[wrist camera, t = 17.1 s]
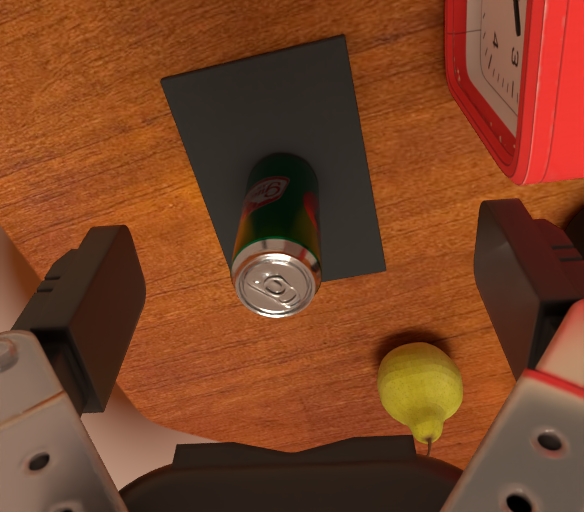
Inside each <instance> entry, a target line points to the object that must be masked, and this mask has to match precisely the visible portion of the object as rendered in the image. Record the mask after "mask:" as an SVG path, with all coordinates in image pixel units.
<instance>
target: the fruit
mask: <svg viewBox="0 0 584 512" xmlns="http://www.w3.org/2000/svg"><path fill="white" fill-rule="evenodd" d="M377 385H378V391H379V396H380V400H381V403H382V405H383V406H384V408H385V409H386V410H387V412H388V413H389V414H390V415H391V416H392V417H393V418H394V419H396V420H397V421H399V422H401V423H403V424H405V425H407V426H408V427H409V428H410V430H411V431H412V433H413V436H414V437H415V438H416V439H417V440H418V441H419V442H421V443H426V444H428V454H427V455H426V456H429V455H430V450H431V443H432V442H434V441H436V440H437V439H438V438H439V437H440V435H441V433H442V430H443V422H444V421H445V420H446V419H447V418H449V417H450V416H452V415H453V414H454V413H455V412H456V411H457V409H458V408H459V406H460V404H461V402H462V397H463V384H462V378H461V374H460V371H459V369H458V367H457V366H456V364H455V363H454V362H453V361H452V360H451V359H450V358H449V357H448V356H447V355H446V354H445V353H444V352H443V351H442V350H440V349H439V348H437V347H436V346H433V345H430V344H428V343H424V342H416V343H410V344H405V345H402V346H400V347H397V348H395V349H393V350H392V351H390V352H389V353H388V354H387V355H386V356H385V357H384V358H383V360H382V362H381V364H380V367H379V371H378V375H377Z"/></svg>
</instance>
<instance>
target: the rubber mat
mask: <svg viewBox="0 0 584 512" xmlns="http://www.w3.org/2000/svg"><path fill="white" fill-rule="evenodd" d="M160 82H161V85H162V88H163V90H164V93H165V96H166V98H167V101H168V104H169V107H170V109H171V112H172V115H173V117H174V120H175V123H176V126H177V128H178V131H179V134H180V136H181V139H182V142H183V145H184V147H185V150H186V153H187V155H188V158H189V161H190V164H191V166H192V169H193V172H194V174H195V177H196V180H197V182H198V185H199V188H200V191H201V193H202V196H203V199H204V201H205V204H206V207H207V210H208V212H209V215H210V218H211V220H212V223H213V226H214V229H215V231H216V234H217V237H218V239H219V242H220V245H221V248H222V250H223V253H224V256H225V258H226V261H227V264H228V267H229V269H231V263H232V258H233V253H234V248H235V242H236V237H237V232H238V227H239V222H240V217H241V212H242V206H243V201H244V196H245V191H246V186H247V181H248V177H249V175H250V173H251V171H252V170H253V168H254V167H255V166H256V165H257V164H258V163H259V162H261V161H263V160H264V159H266V158H269V157H272V156H277V155H287V156H292V157H295V158H298V159H300V160H302V161H304V162H305V163H306V164H308V165H309V166H310V167H311V168H312V170H313V171H314V173H315V175H316V177H317V179H318V183H319V202H320V228H321V254H322V281H321V282H326V281H331V280H337V279H343V278H348V277H354V276H360V275H365V274H371V273H377V272H382V271H386V266H385V260H384V254H383V249H382V243H381V238H380V232H379V226H378V221H377V215H376V209H375V204H374V198H373V192H372V187H371V181H370V176H369V170H368V164H367V159H366V153H365V147H364V142H363V136H362V130H361V125H360V119H359V114H358V108H357V102H356V97H355V91H354V85H353V80H352V74H351V68H350V63H349V57H348V52H347V46H346V40H345V35H339V36H335V37H331V38H327V39H323V40H319V41H314V42H310V43H306V44H302V45H298V46H294V47H290V48H286V49H281V50H277V51H273V52H269V53H265V54H261V55H257V56H252V57H248V58H244V59H240V60H236V61H232V62H228V63H224V64H219V65H215V66H211V67H207V68H203V69H199V70H195V71H191V72H186V73H182V74H178V75H174V76H170V77H166V78H162V79H161V81H160Z"/></svg>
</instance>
